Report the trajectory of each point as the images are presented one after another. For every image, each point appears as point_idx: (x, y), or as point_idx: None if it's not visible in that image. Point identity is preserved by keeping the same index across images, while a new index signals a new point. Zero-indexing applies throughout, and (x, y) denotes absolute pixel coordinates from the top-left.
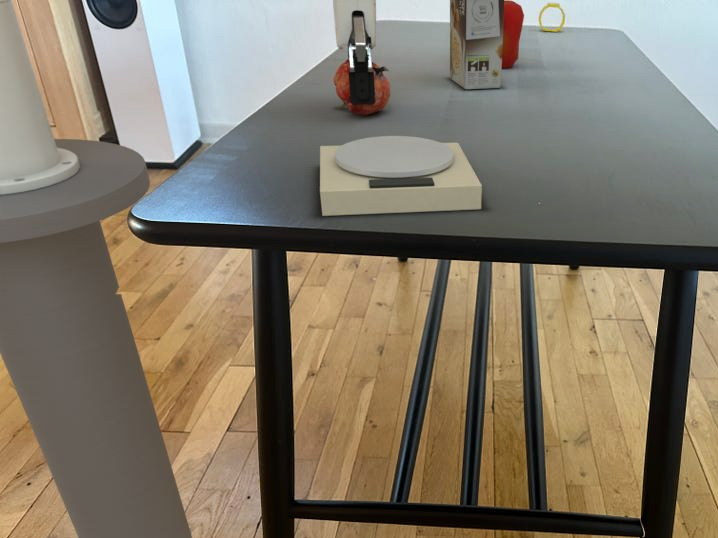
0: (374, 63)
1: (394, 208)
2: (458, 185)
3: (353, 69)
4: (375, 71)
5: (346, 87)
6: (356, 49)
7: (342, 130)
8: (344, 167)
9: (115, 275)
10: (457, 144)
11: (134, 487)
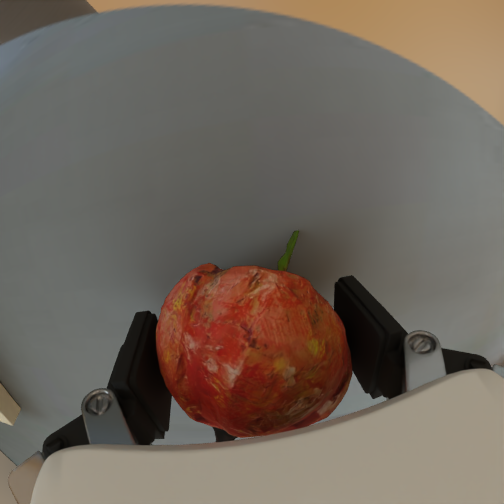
0: None
1: None
2: None
3: (90, 407)
4: (223, 430)
5: (157, 325)
6: (18, 468)
7: (73, 268)
8: None
9: (8, 27)
10: (7, 423)
11: None
